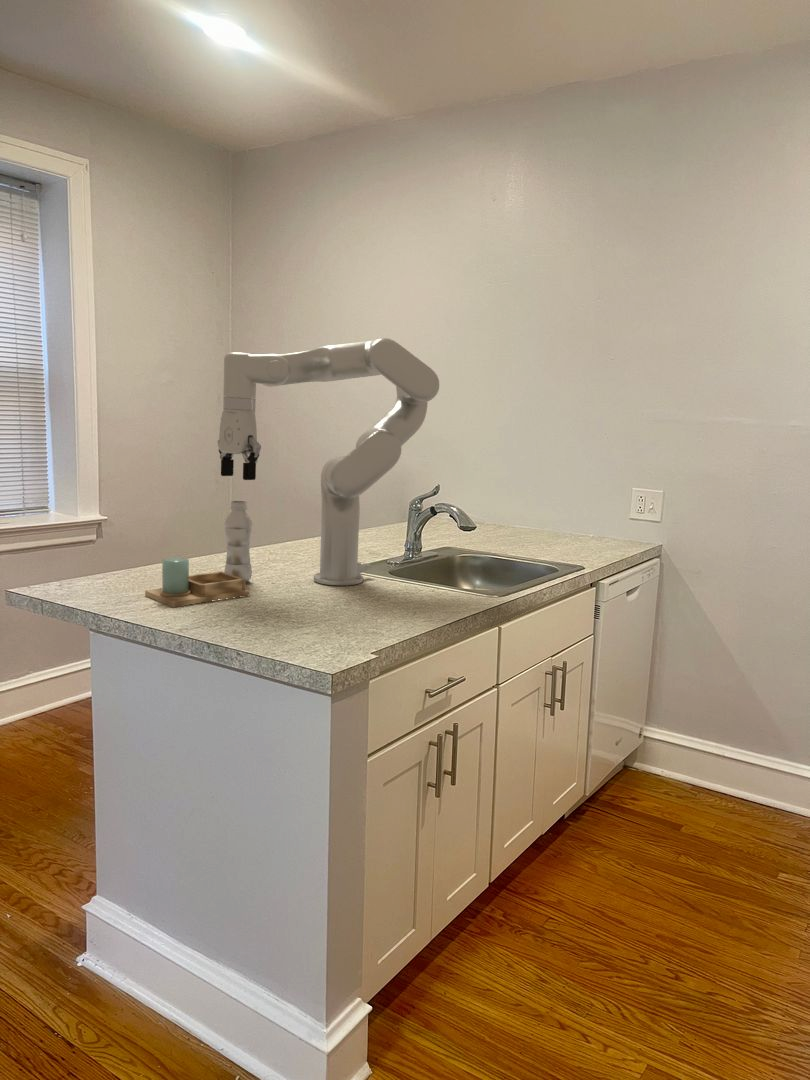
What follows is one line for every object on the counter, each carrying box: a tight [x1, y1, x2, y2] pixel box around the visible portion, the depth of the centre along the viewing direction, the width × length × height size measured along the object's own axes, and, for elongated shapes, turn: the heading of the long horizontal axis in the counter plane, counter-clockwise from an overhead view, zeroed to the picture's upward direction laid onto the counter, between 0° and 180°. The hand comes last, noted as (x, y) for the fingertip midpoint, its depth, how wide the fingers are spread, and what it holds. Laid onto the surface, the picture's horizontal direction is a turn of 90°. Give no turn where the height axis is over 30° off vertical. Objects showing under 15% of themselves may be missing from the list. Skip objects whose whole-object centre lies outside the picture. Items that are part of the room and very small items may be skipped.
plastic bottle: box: [223, 500, 253, 583], centre depth 195 cm, size 6×7×20 cm
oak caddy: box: [144, 570, 250, 608], centre depth 181 cm, size 19×13×4 cm
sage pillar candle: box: [161, 557, 190, 594], centre depth 177 cm, size 6×6×7 cm
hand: (237, 477), depth 193 cm, fingers open, 9 cm apart
